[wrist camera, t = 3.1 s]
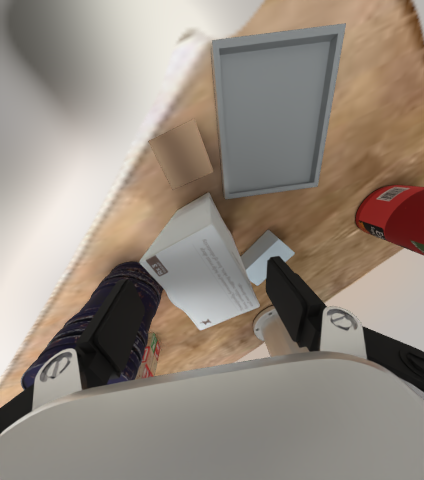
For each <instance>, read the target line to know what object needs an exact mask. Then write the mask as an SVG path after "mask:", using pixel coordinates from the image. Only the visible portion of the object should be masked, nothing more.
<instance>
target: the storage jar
mask: <svg viewBox="0 0 424 480" xmlns="http://www.w3.org/2000/svg"><path fill="white" fill-rule="evenodd" d="M124 279H129V280H130V281H132V282H133V284H134V286H135V288H136V290H137V293H138V295H139V297H140V299H141V301H142V303H143V305H144V307H145V313H144V316H143V319H142V322H141V324H140V327H139V330H138V333H137V336H136V339H135V342H134V344H133V347H132V350H131V353H130V356H129V359H128V361H127V364H126V367H125V369H124V370H123V371H122V372H121V375H120V377H119V378H117V379H111V380H108V383H107V385H109V384H114V383H120V382H125V381H131V380H135V378H136V376H137V373H138V370H139V367H140V365H141V363H142V359H143V356H144V353H145V348H146V346H147V343H148V331H149V328H150V325H151V321H152V319H153V317H154V316H155V314H156V311H157V308H158V306H159V303H160V299H161V293H162V291H163V287H162V286H161V285H160V284H159V283H158V282H157V281H156V280H155V279H154V278H153V277H152V276H151V275H150V274H149V273H148V271H147V270H146V269H145V268H144V267H143V266H142V265H141V264H140V263H139V262H126V263H122V264H120V265H118V266H116V267H115V268H114V269H113V270H112V271H111V273H110V274H109V275H108V276H107V277H105V278H104V279H103V281H102V282H101V283H100V284H99V286H98V288H97V289H96V290H95V291H94V292H93V294H92V295H91V298H90V300H89V301H88V302H87V303H86V304H85V306H84V307H83V308H82V309H81V310H80V312H79V313H77V314H76V315H74V316H73V317H72V318H71V319H70V320H69V321H68V322H66V324H65V325H64V327H63V329H61V330H60V331H59V332H58V333H57V334H56V335H55V336H54V338H53V339H52V340H51V341H50V342H49V344H48V345H47V347H46V348H45V350H44V351H43V352H42V353H41V354H40V356H39V357H38V359H37V360H36V361H35V362H34V363H33V364H32V365H31V366H30V367H29V368H28V369H27V371H26V372H25V373H24V374H23V376H22V378H21V386H22V388H23V389H24V390H25V389H27V388H28V387H30V386H31V385H32V384H34V383H35V378H36V375H37V373H38V372H39V370H40V369H41V368H42V366H43V365H44V364H45V363H46V362H47V361H48V360H49V359H50V358H52V357H53V356H54V355H56V354H57V353H59V352H61V351H63V350H66V349H71V348H72V349H74V348H75V347H76V344H75V343H76V342H77V340H78V339H79V337H80V336H81V334H82V333H83V331H84V330H85V329H86V327H87V326H88V324H89V323H90V321H91V320H92V318H93V317H94V315H95V314H96V312H97V311H98V309H99V308H100V306H101V305H102V303H103V302H104V300H105V299H106V298H107V296H108V295H109V293H110V292H111V290H112V289H113V287H114V286H115V284H116V283H117V281H119V280H124Z"/></svg>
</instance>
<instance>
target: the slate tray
mask: <svg viewBox="0 0 424 480" xmlns="http://www.w3.org/2000/svg"><path fill="white" fill-rule="evenodd" d="M345 26H346V23H345V24H337V25H329V26H321V27H313V28H305V29H298V30H290V31H282V32H274V33H266V34H258V35H250V36H242V37H234V38H226V39H219V40H212V48H211V59H212V71H213V82H214V94H215V105H216V116H217V128H218V139H219V151H220V162H221V174H222V185H223V196H224V198H225V199H231V198H238V197H246V196H253V195H260V194H267V193H274V192H281V191H289V190H296V189H303V188H310V187H317V186H318V182H319V176H320V170H321V164H322V158H323V153H324V147H325V141H326V135H327V130H328V124H329V118H330V112H331V107H332V101H333V95H334V89H335V84H336V78H337V72H338V66H339V61H340V55H341V49H342V43H343V37H344V32H345Z"/></svg>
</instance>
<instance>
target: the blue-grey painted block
mask: <svg viewBox="0 0 424 480" xmlns="http://www.w3.org/2000/svg"><path fill="white" fill-rule="evenodd" d="M294 254H295V253H294V252H293V251H292V250H291V249H290V248H289V247H288V246H286V245H285V244H284V243H283V242H282V241H281V240H280V239H279V238H278V237H276V236H275V235H274V234H273V233H272V232H271V231H270V230H269V229H268V230H267V231H266V232H265V233H264V234H263V235H262V236H261V237H260V238H259V239H258V240H257V241H256V242H255V243H254V244H253V245H252V246H251V247H250V248H249V249H248V250H247V251H246V252H245V253H244V254H243V255H242V256H241V257H240V258H241V260H242V263H243V265H244V268H245V270H246V273H247V275H248V278H249V280H250V281H251V282H253V283H254V284H255V285H257V286H258V285H259V284H260V283H262V282H263V281H264V280H265V279H266V275H267V260H269V259H270V257H275V256H280V257H281V258H282V260H283V261H284V262H286V261H287V260H288V259H289V258H290V257H292V256H293V255H294Z"/></svg>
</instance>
